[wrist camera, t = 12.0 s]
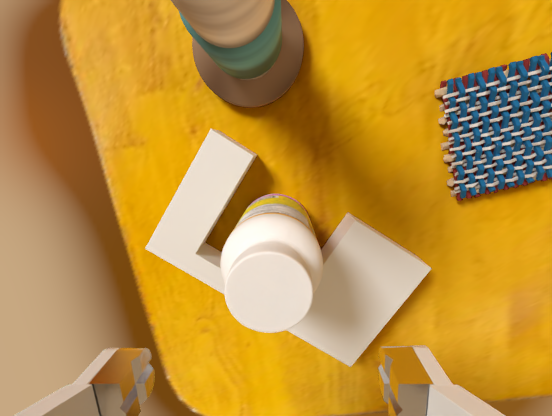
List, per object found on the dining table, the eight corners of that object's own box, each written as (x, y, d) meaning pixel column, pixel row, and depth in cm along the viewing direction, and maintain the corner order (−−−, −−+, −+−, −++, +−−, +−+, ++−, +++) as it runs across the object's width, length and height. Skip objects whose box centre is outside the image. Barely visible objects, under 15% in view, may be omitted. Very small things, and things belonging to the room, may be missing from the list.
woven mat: (444, 201, 27) (457, 206, 25) (428, 85, 24) (440, 80, 22) (561, 174, 26) (584, 176, 24) (555, 50, 23) (580, 42, 21)
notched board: (415, 255, 27) (431, 268, 24) (344, 345, 30) (350, 367, 27) (219, 130, 25) (210, 128, 22) (159, 237, 28) (145, 248, 25)
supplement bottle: (291, 269, 28) (295, 369, 15) (231, 240, 28) (184, 320, 15) (323, 210, 27) (356, 269, 14) (260, 179, 26) (235, 211, 14)
